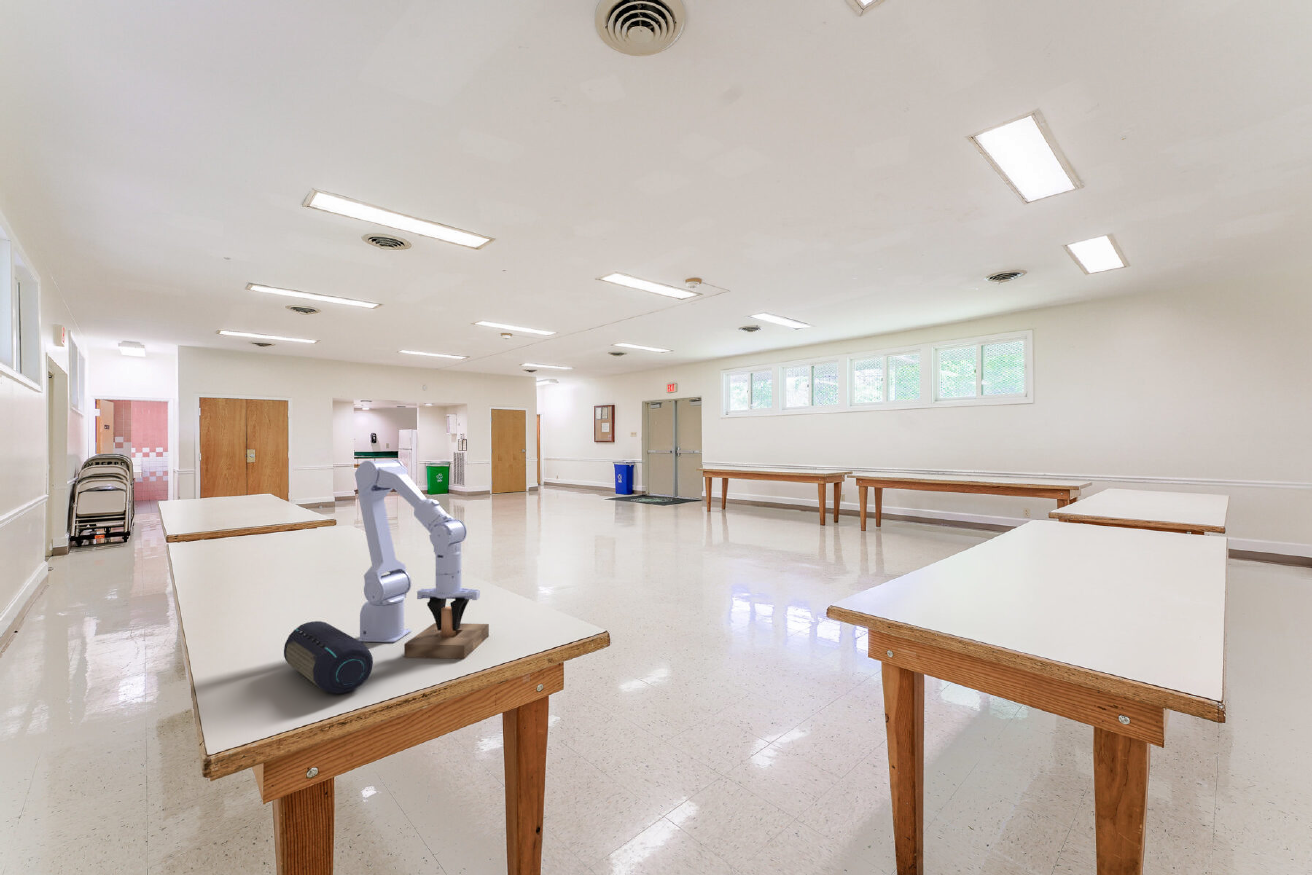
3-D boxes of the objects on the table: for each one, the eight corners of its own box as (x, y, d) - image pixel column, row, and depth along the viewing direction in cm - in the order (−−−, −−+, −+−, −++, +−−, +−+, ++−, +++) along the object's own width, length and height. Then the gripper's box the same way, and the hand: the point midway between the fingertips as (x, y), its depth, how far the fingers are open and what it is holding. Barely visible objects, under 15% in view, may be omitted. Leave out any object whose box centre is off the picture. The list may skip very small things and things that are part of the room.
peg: (438, 640, 126) (438, 610, 126) (445, 635, 129) (445, 606, 129) (451, 640, 125) (451, 610, 125) (458, 635, 129) (458, 606, 128)
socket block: (404, 657, 121) (404, 643, 121) (434, 634, 135) (434, 622, 135) (464, 658, 120) (464, 645, 120) (488, 635, 134) (488, 623, 134)
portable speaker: (277, 671, 114) (277, 624, 114) (329, 656, 122) (329, 612, 122) (322, 707, 98) (322, 653, 98) (378, 688, 106) (378, 637, 106)
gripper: (410, 575, 124) (410, 634, 124) (471, 576, 123) (471, 635, 123) (425, 568, 131) (425, 624, 131) (483, 569, 130) (483, 625, 130)
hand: (448, 629), depth 127 cm, fingers closed on peg, 3 cm apart
